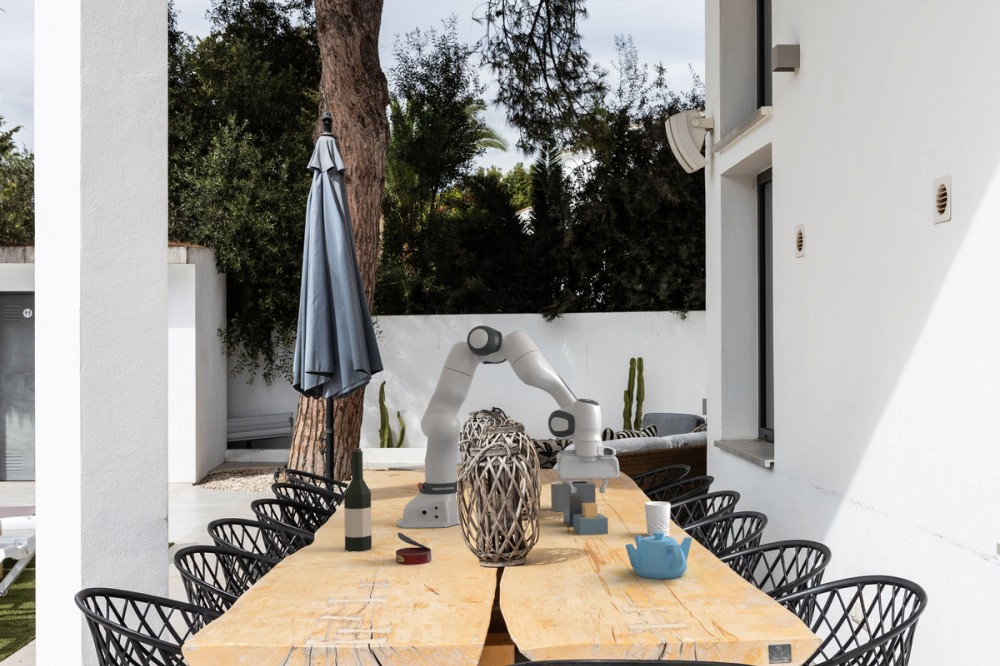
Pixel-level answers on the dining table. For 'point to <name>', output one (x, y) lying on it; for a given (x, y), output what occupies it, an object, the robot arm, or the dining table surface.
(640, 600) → the dining table surface
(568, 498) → the upper socket
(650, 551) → the teapot
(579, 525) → the lower socket
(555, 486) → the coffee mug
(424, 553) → the canned food
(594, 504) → the plug
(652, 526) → the white cup
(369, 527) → the wine bottle
